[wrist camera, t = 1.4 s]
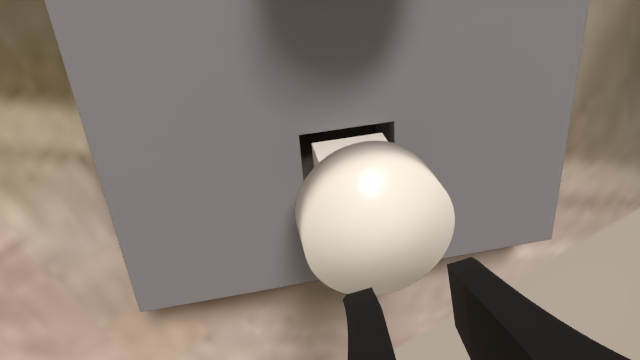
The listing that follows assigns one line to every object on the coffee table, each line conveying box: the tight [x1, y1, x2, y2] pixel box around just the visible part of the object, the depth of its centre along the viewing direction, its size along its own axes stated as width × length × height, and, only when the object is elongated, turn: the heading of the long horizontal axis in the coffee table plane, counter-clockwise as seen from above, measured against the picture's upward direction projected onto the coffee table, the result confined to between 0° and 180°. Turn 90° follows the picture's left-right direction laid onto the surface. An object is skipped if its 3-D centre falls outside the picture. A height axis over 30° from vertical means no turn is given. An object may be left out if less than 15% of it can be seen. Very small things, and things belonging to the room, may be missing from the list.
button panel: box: [45, 0, 589, 312], centre depth 18 cm, size 16×18×2 cm
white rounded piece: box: [295, 133, 455, 296], centre depth 18 cm, size 4×4×4 cm
